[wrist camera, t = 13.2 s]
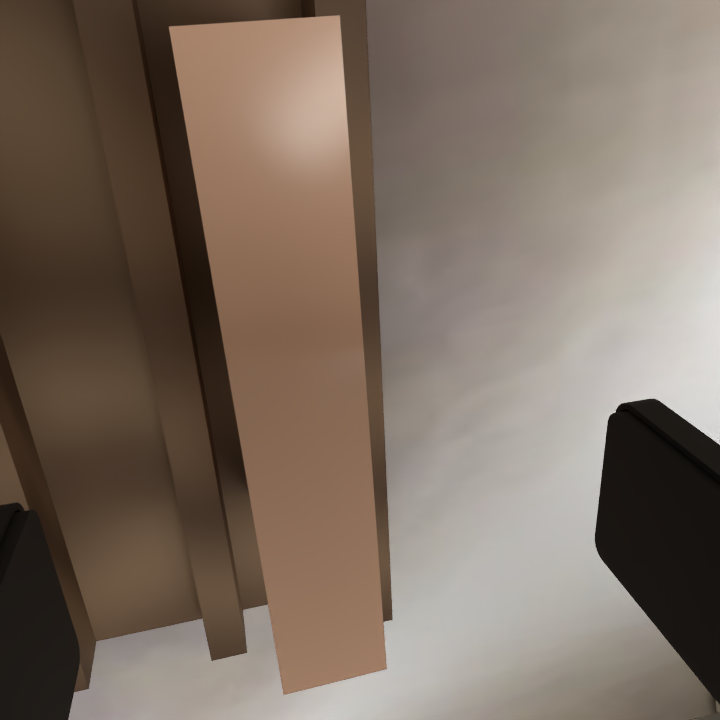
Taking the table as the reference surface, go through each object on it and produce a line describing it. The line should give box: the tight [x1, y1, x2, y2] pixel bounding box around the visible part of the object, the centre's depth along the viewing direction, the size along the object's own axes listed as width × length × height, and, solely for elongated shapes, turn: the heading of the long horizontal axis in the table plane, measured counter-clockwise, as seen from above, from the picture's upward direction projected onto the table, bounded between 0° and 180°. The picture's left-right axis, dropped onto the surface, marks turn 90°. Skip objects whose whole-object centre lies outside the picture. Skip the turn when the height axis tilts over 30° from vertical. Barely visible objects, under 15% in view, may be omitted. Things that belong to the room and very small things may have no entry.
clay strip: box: [169, 15, 387, 695], centre depth 16 cm, size 14×2×8 cm, turn 4°
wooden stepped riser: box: [0, 0, 392, 692], centre depth 19 cm, size 24×12×4 cm, turn 3°
